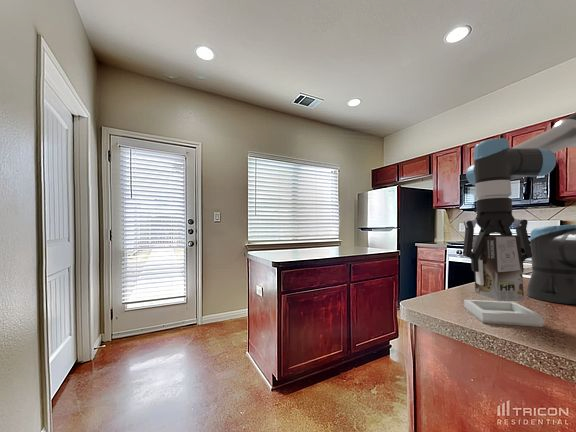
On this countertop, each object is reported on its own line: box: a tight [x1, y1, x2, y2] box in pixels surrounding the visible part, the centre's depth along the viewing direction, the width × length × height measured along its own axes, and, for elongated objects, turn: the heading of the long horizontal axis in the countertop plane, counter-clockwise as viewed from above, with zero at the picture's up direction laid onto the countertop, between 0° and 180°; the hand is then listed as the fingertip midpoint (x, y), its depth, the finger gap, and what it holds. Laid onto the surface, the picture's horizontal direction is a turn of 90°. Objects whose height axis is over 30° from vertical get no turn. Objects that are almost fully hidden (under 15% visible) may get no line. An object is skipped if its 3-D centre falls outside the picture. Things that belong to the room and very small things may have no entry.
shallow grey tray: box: [463, 299, 544, 328], centre depth 69 cm, size 12×12×2 cm
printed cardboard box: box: [472, 234, 525, 302], centre depth 70 cm, size 9×6×16 cm
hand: (497, 284), depth 70 cm, fingers closed on printed cardboard box, 7 cm apart
